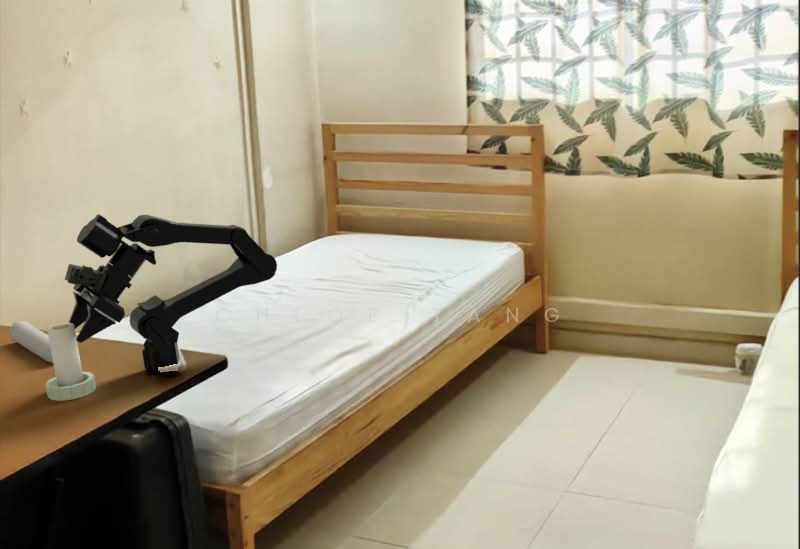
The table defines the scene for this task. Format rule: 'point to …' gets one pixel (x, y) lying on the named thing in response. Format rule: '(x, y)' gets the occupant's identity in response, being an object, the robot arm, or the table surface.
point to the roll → (65, 354)
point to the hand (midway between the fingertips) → (73, 336)
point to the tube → (31, 339)
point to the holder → (71, 388)
